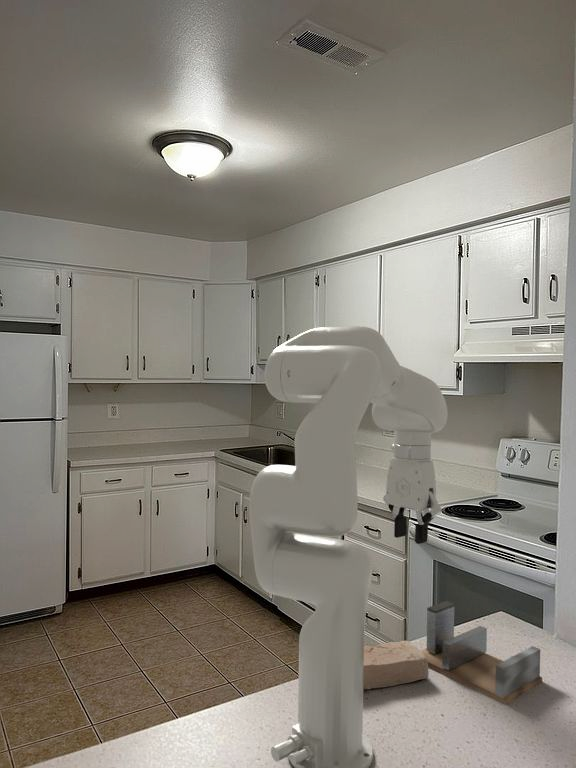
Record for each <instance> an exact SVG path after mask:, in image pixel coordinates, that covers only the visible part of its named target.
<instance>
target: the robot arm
mask: <svg viewBox="0 0 576 768" xmlns="http://www.w3.org/2000/svg"><path fill="white" fill-rule="evenodd" d="M263 373H264V374H263V375H264V376H263V377H264V383H265V386H266V388H267V391H268V393H269V394H270V395H271V396H272V397H274V399H276V400H278V401H280V402H281V401H282V402H283V403H284V402H286V403H302V404H315V405H314V406H313V407H312V409H311V410H310V411H309V412H308V413H307V415H306V416H305V417H304V418H303V420H302V422H301V423H300V425H299V426H298V428H297V431H296V432H295V433H296V434H295V436H294V461H295V462H294V464H295V465H289V464H271V465H268V466H266V467H264V468H263V469H261V470H260V471H259V472H258V473H257V475H256V476H255V477H254V480H253V483H252V485H251V489H250V493H249V501H248V503H249V504H248V506H249V507H248V509H249V522H250V523H249V524H250V534H251V543H252V553H253V563H254V571H255V572H254V573H255V575H256V576H255V577H256V580H257V583H258V584H259V586H260V588H261V589H262V590H263V591H265V593H267V594H269V595H270V594H271V595H274V596H277V597H281V598H286V599H290V600H296V601H300V602H304V603H306V604H307V603H308V604H311V605H313V606H315V610H314V612H313V613H312V614H311V615H310V616H308V618H307V619H306V621H304V623H303V624H302V627H301V630H300V632H299V638H298V639H299V640H298V695H297V697H298V699H297V701H298V702H297V703H298V704H297V709H298V710H297V723H296V724H294V725H292V726H291V727H292V728H291V729H292V730H291V731H292V732H291V734H290V735H289V736H288V737H287V740H286V741H282V742H280V743H277V744H276V745H273V746H271V748H270V754H271V757H272V759H273V761H274V762H277V763H278V762H279V761H282V760H284V759H286V758H288V760H289V762H290V763H291V765H292V766H293V767H294V768H369V767H370V766H371V765H372V763H373V760H374V749H373V745H372V742H371V740H370V739H369V738H368V736H367V735H366V734H364V733H363V728H364V727H363V726H364V725H363V723H364V722H363V721H364V690H363V676H364V646H365V630H366V629H365V626H366V615H367V614H366V613H367V605H368V601H369V600H368V599H369V594H370V589H371V583H372V578H373V563H372V560H371V557H370V555H369V553H368V552H367V551H366V550H365V549H364V548H363V547H362V546H360V545H358V544H357V543H355V542H351V541H348V540H344V539H339V538H333V537H342V536H345V535H347V534H349V533H350V532H351V531H352V530H354V527H355V526H356V524H357V520H358V507H359V506H358V505H359V504H358V501H359V500H358V484H357V483H358V482H357V481H358V480H357V466H356V465H357V462H356V438H357V433H358V429H359V428H360V425H361V422H362V420H363V418H364V415H365V414H366V411H367V409H368V407H369V405H370V403H371V404H372V407H371V416H372V417H371V418H372V421H373V422H374V424H375V425H376V426H377V428H380V429H382V430H385V431H390V432H393V431H394V432H393V434H394V435H393V438H394V439H393V444H392V445H391V451H393V456H392V457H391V458H390V460H389V464H388V470H387V476H386V486H385V487H386V488H385V495H384V496H383V501H384V503H385V505H387V506H388V509H389V511H390V512H391V517H392V518H393V519H394V523H393V524H394V526H393V529H394V531H393V533H394V534H393V536H394V538H401V537H406V536H407V528H408V527H407V523H408V522H407V520H408V519H407V516H405V515H406V511H407V510H406V509H408V510H412V511H415V514H416V519H417V523H415V526H414V528H415V529H414V532H415V533H414V543H415V544H416V545H419V544H423V543H427V542H428V537H429V535H428V533H429V524H430V523H431V522H432V520H434V518H435V517H436V516H437V515H439V514H441V513H443V509H442V507H441V506H440V504H439V502H438V500H437V484H436V482H437V481H436V473H435V467H434V461H433V460H432V455H431V454H432V434H434V433H435V434H436V433H439V432H440V431H441V430H443V429H444V428H445V426H446V424H447V421H448V415H449V414H448V413H449V412H448V405H447V402H446V398H445V397H444V395H443V393H442V390H441V389H440V387H439V386H438V384H437V382H434V380H432V379H430V378H429V377H427V376H425V375H422V374H421V373H418V372H416V371H414V370H411V369H409V368H407V367H405V366H403V365H400V363H399V361H398V360H397V358H396V357H395V355H394V354H393V352H392V350H391V348H390V346H389V345H388V342H387V341H386V340H385V338H384V336H383V335H382V334H381V333H380V332H379V331H378V330H377V329H376V330H375V329H374V328H371V327H368V326H367V327H366V326H356V325H355V326H324V327H323V326H321V327H315V328H311V329H309V330H307V331H305V332H302V333H300V334H297V336H294V337H293V338H291V339H289V340H287V341H285V342H284V343H282V344H280V345H279V346H277V347H276V348H275V349H274V350H273V351H272V352H271V353H270V355H269V357H268V358H267V360H266V363H265V367H264V372H263Z"/></svg>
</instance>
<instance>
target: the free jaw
mask: <svg viewBox="0 0 576 768" xmlns="http://www.w3.org/2000/svg"><path fill="white" fill-rule="evenodd" d="M426 612H427V613H426V614H427V615H426V617H427V618H426V648H427V651H428V652H431V653H433V654H437V653H439V652H443V654H442V667H443V668H445V669H447V670H451V669H453V668H455V667H457V666H459V665H461V664H463V663H465V662H467V661H469V660H471V659H473V658H475V657H477V656H479V655H481V654H484V653H486V654H487V646H488V645H487V641H488V640H487V638H488V637H487V636H488V633H487V632H488V628H487V627H484V626H482V625H478V626H476V627H474V628H472V629H470V630H467V631H465V632H463V633H460V634H458V635H455V603H453V602H450V601H447V600H445V601H442V602H439V603H436V604H434V605H432V606H428V607H427V608H426Z"/></svg>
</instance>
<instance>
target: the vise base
mask: <svg viewBox="0 0 576 768" xmlns="http://www.w3.org/2000/svg"><path fill="white" fill-rule="evenodd" d="M421 652H423V654H424V655H425V656H426V661H427V662H428V669H432V670H433V671H435V672H437V673H439V674H442V675H444V676H446V677H448V678H450V679H451V680H454V681H456V682H458V683H460V684H462V685H464V686H466V687H468V688H470V689H472V690H475V691H476V692H478V693H481V694H483V695H485V696H487V697H488V698H491V699H493V700H495V701H497V702H499V703H501V704H503V705H505V706H506V705H508V704H509V703H511V702H512V701H514V700H516V699H517V698H518V697H521V696H522V695H524V694H525V693H527V692H528V691H530V690H531V689H533V688H535V687H537V685H539V684H541V683H543V677H542V676H540V674H541V649H540V648H538V647H536V646H533V645H532V646H530V647H528V648H527V649H524V650H522V651H520V652H518V653H517V654H515V655H513V656H511V657H508V658H507V659H505V660H502V659H499V658H497V657H496V656H494V655H490V654H488V653H487V652H486V653H484V654H481V655H479V656H477V657H475V658H473V659H471V660H469V661H467V662H465V663H463V664H461V665H459V666H457V667H455V668H453V669H451V670H447V669H445V668H443V667H442V654H443V652H439V653H437V654H433V653H431V652H428V651H427V647H426V648H424V649H422V650H421ZM529 689H530V690H529ZM526 691H527V692H526Z"/></svg>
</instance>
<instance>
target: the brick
mask: <svg viewBox="0 0 576 768" xmlns="http://www.w3.org/2000/svg"><path fill="white" fill-rule="evenodd" d="M421 651H422V650H421V649H419V648H417V646H415V645H414V644H413V643H412V642H410V641H409V640H401V641H390V642H385V643H381V644H377V645H375V646H371V645H364V676H363V691H365V690H371V689H379V688H387V687H394V686H397V685H404V684H407V683H408V684H410V683H412V682H416V681H419V680H426V679H428V678H429V674H430V673H429V667H428V662H427V661H426V656H425V655H424V654H423V652H421Z"/></svg>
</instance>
